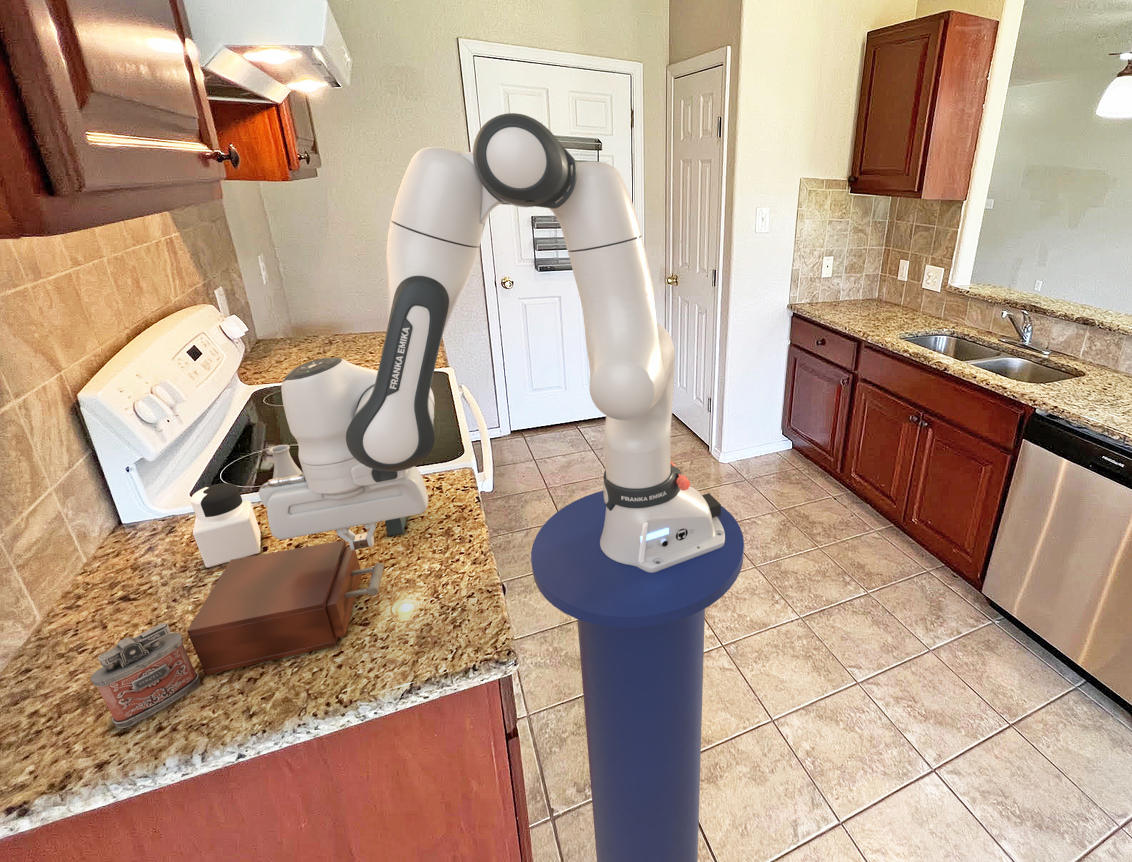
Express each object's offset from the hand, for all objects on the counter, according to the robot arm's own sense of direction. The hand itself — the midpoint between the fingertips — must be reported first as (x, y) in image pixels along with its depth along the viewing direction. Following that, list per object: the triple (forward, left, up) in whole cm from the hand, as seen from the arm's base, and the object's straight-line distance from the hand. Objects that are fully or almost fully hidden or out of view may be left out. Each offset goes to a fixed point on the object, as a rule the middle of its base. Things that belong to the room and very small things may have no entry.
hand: (363, 546), depth 88 cm
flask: (+19, -35, -8) cm, 41 cm away
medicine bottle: (+23, -17, -8) cm, 30 cm away
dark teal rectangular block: (-2, -17, -7) cm, 19 cm away
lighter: (+21, +15, -8) cm, 27 cm away
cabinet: (+10, +5, -7) cm, 13 cm away
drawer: (+6, +5, -7) cm, 10 cm away
